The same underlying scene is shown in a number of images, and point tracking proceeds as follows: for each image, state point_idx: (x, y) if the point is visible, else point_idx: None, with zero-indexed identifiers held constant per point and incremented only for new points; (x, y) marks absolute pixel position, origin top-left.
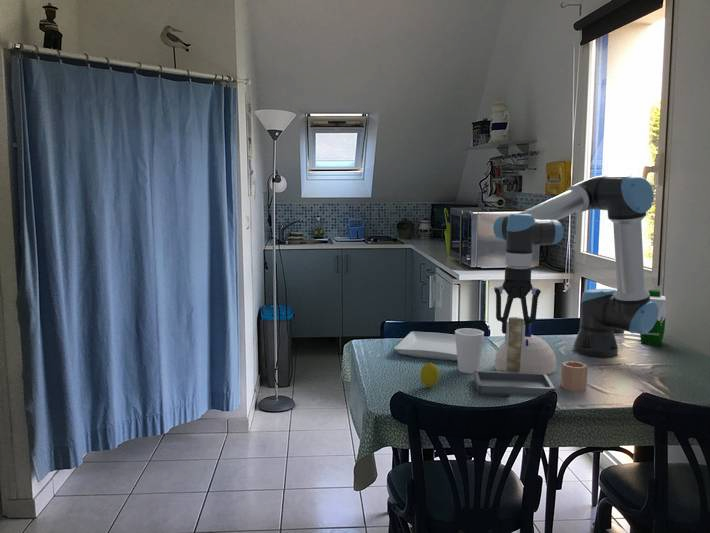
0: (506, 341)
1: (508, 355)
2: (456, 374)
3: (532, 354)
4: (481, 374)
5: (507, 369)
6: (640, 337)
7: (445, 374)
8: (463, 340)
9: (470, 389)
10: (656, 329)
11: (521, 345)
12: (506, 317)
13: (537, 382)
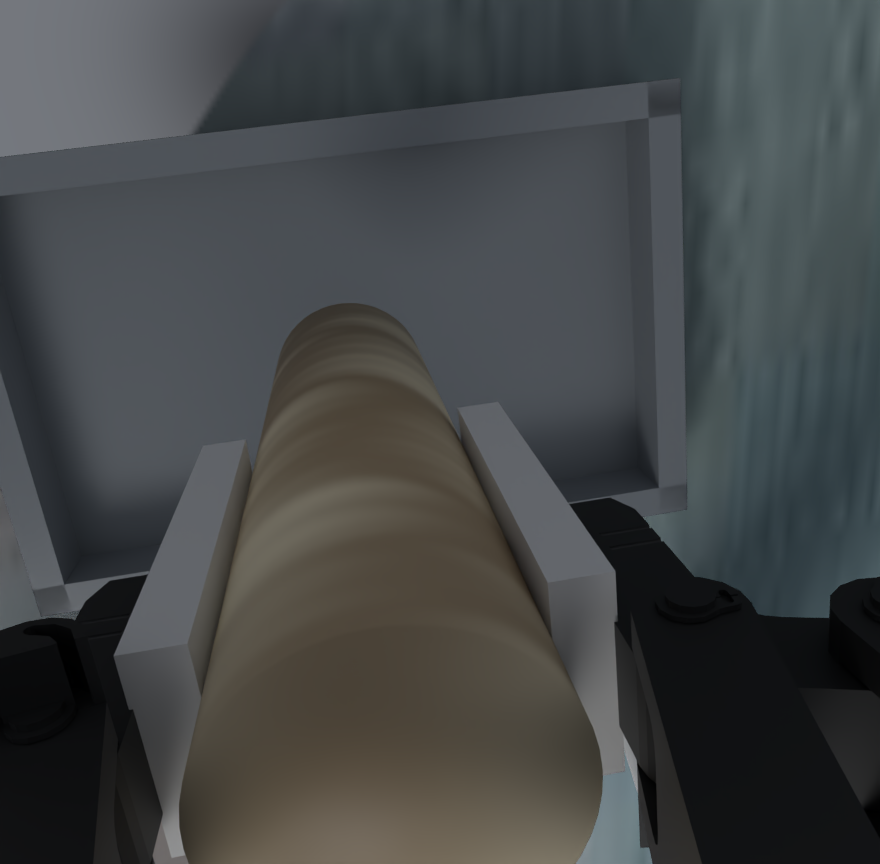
0: (504, 421)
1: (428, 377)
2: (776, 572)
3: (159, 838)
4: (617, 484)
5: (412, 338)
6: None
7: (858, 548)
8: None
9: (694, 237)
10: None
11: (248, 453)
12: (709, 682)
13: (126, 494)
